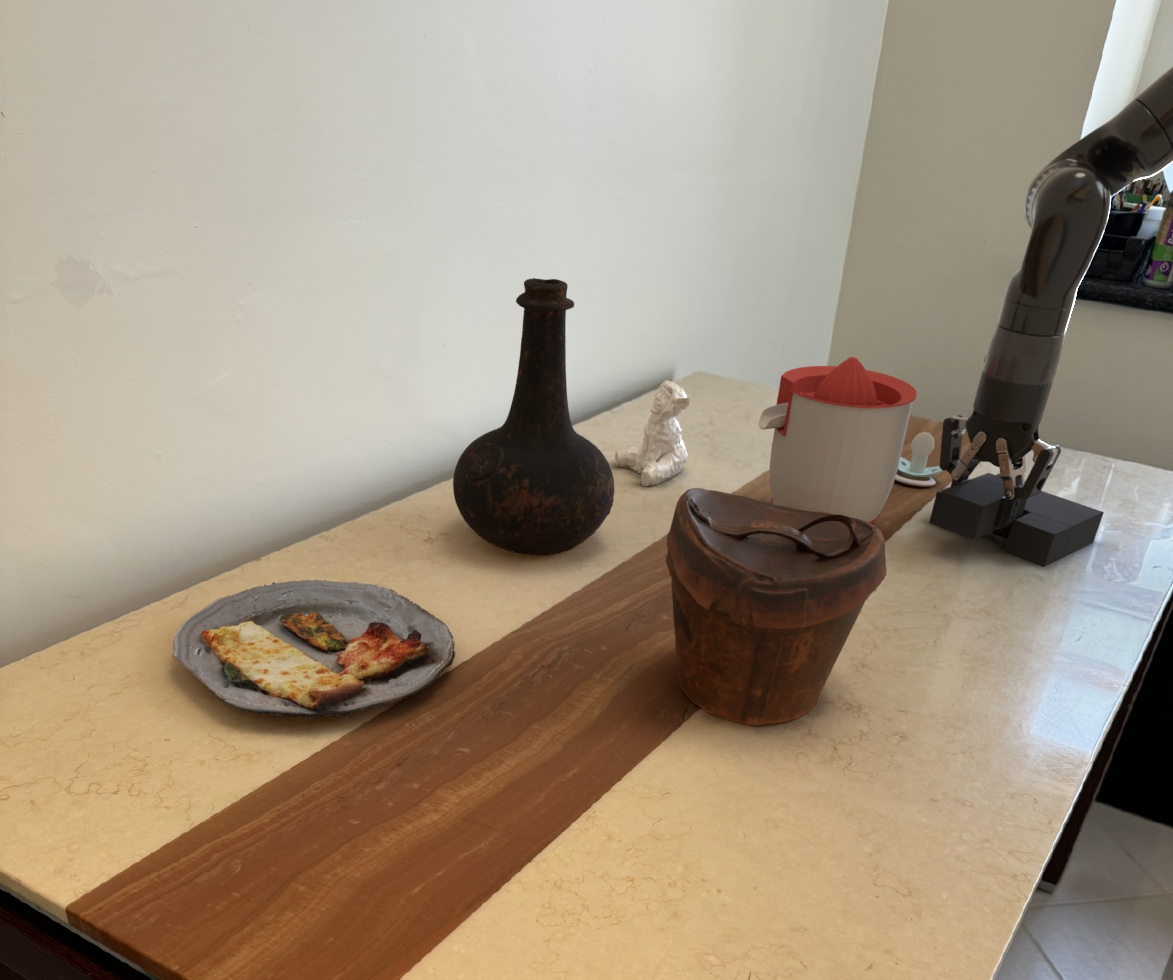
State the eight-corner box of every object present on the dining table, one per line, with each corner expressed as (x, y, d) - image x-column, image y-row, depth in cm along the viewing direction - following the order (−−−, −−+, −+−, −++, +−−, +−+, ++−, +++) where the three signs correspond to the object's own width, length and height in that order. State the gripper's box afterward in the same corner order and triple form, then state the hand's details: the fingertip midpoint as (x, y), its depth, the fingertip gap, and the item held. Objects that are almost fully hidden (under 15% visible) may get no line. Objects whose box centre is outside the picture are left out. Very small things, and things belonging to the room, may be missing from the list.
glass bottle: (425, 528, 128) (418, 268, 112) (550, 500, 138) (559, 256, 121) (512, 587, 117) (518, 307, 101) (641, 552, 127) (665, 291, 110)
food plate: (502, 677, 102) (502, 643, 100) (278, 766, 88) (273, 730, 86) (351, 581, 116) (348, 549, 114) (138, 645, 103) (131, 611, 101)
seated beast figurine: (610, 463, 150) (616, 373, 143) (664, 456, 153) (673, 367, 146) (645, 488, 143) (654, 394, 136) (701, 480, 146) (712, 388, 139)
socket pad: (1093, 542, 136) (1104, 512, 134) (1044, 566, 130) (1054, 534, 127) (980, 501, 146) (988, 472, 143) (929, 521, 139) (936, 491, 137)
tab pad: (1027, 517, 133) (1037, 485, 130) (973, 539, 126) (983, 506, 124) (987, 502, 136) (996, 470, 133) (933, 523, 129) (941, 491, 127)
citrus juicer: (735, 497, 142) (758, 335, 130) (868, 502, 143) (902, 342, 132) (755, 547, 129) (782, 372, 118) (900, 552, 130) (941, 379, 119)
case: (898, 713, 101) (947, 528, 90) (719, 766, 92) (750, 567, 82) (779, 628, 113) (809, 456, 103) (611, 668, 104) (626, 485, 94)
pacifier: (932, 493, 148) (944, 479, 152) (943, 448, 144) (956, 434, 148) (880, 481, 150) (893, 467, 155) (889, 436, 147) (903, 423, 151)
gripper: (1096, 383, 118) (1048, 531, 128) (979, 351, 127) (943, 492, 136) (1061, 394, 114) (1015, 547, 124) (943, 360, 122) (908, 505, 132)
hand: (977, 517), depth 130 cm, fingers closed on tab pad, 5 cm apart
